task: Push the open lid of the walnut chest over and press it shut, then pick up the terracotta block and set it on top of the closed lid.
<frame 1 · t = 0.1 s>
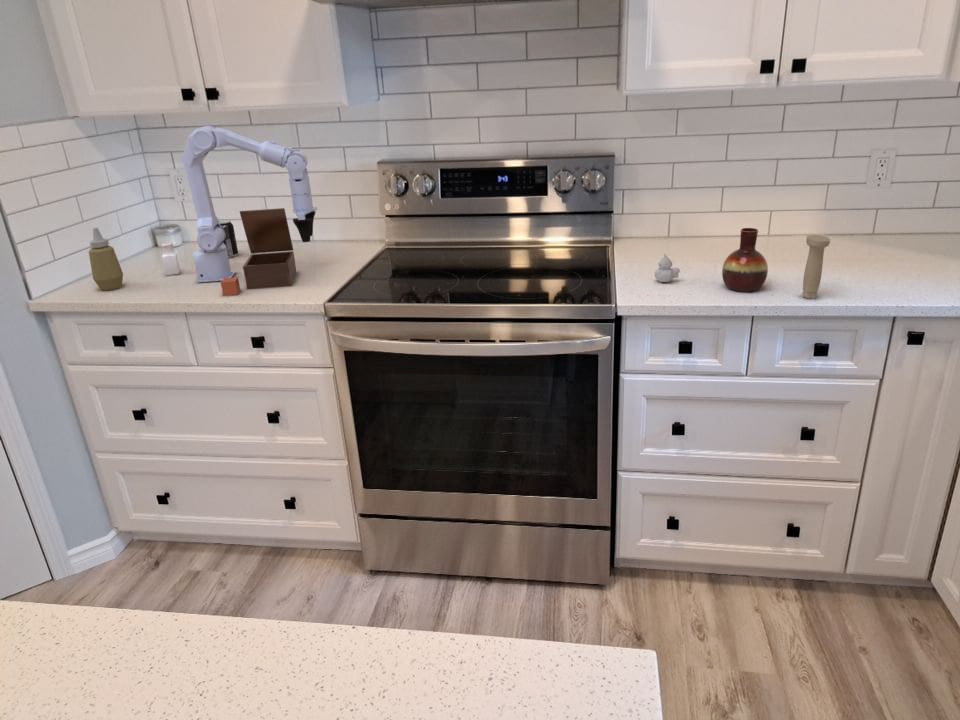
hand: (307, 238, 210), 10 cm above the countertop, tool pointing down, fingers open, 7 cm apart
chest lid: (267, 231, 204), point 14 cm above the countertop, hinge at 70.0°
block: (232, 293, 196), on the countertop
grey rounded figurine: (666, 282, 189), on the countertop
black upright box: (230, 256, 235), on the countertop
chest: (272, 280, 206), on the countertop
pepper shaker: (173, 274, 218), on the countertop
handle: (809, 297, 173), on the countertop
squeeze bottle: (111, 288, 206), on the countertop
vase: (742, 288, 182), on the countertop
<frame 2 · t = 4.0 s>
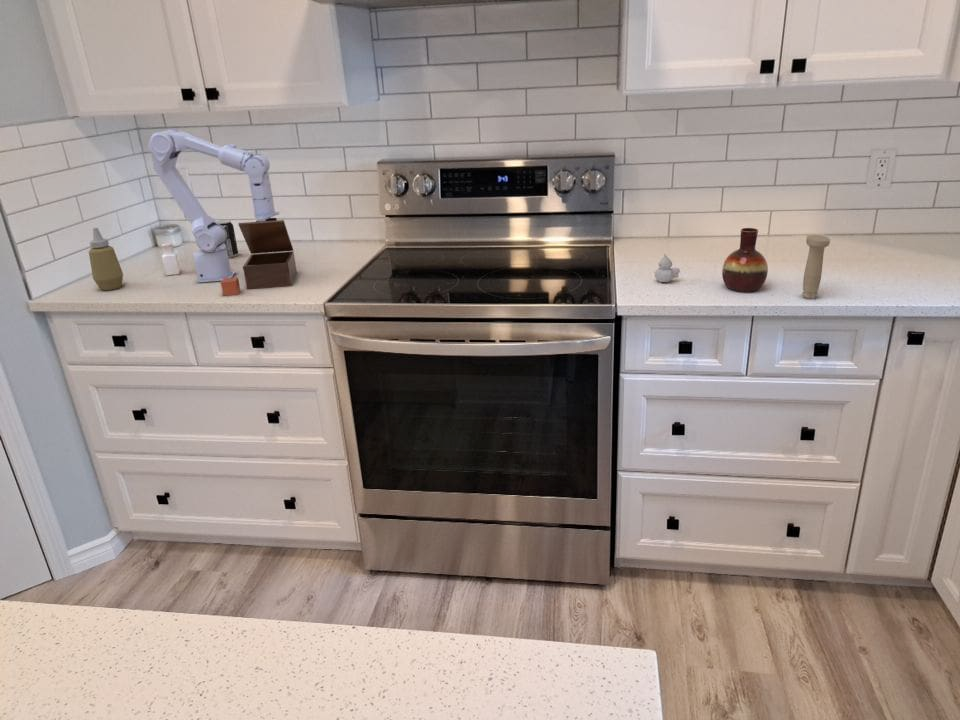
hand: (270, 243, 207), 10 cm above the countertop, tool pointing down, fingers closed
chest lid: (266, 237, 203), point 13 cm above the countertop, hinge at 49.4°, touching gripper
everything else where it was.
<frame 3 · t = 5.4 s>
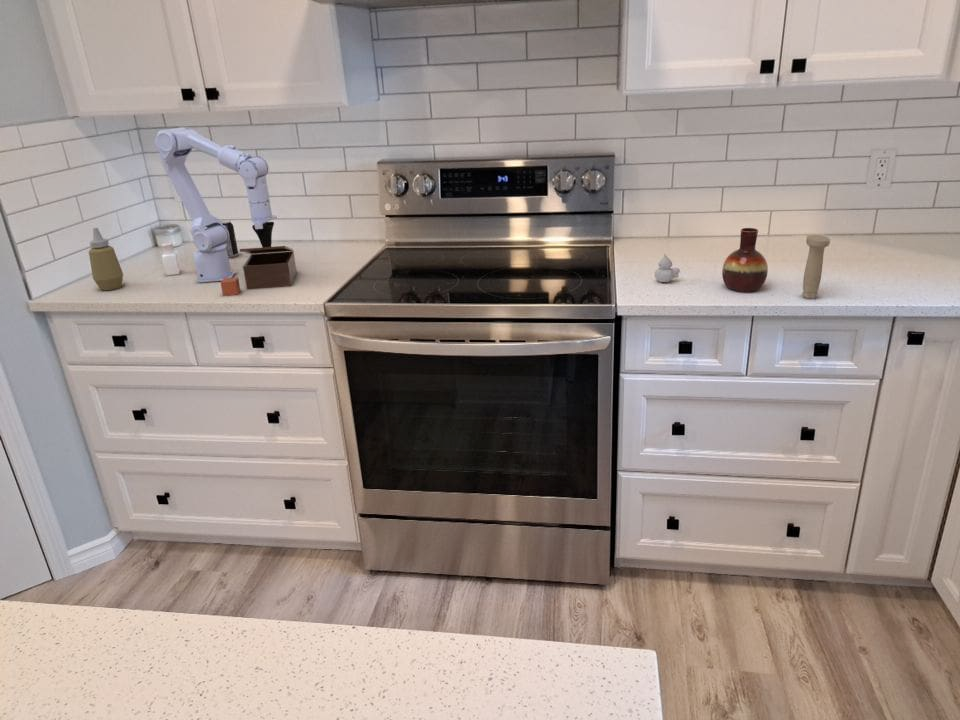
hand: (267, 248, 202), 10 cm above the countertop, tool pointing down, fingers closed
chest lid: (267, 250, 202), point 9 cm above the countertop, hinge at 17.8°, touching gripper
everything else where it was.
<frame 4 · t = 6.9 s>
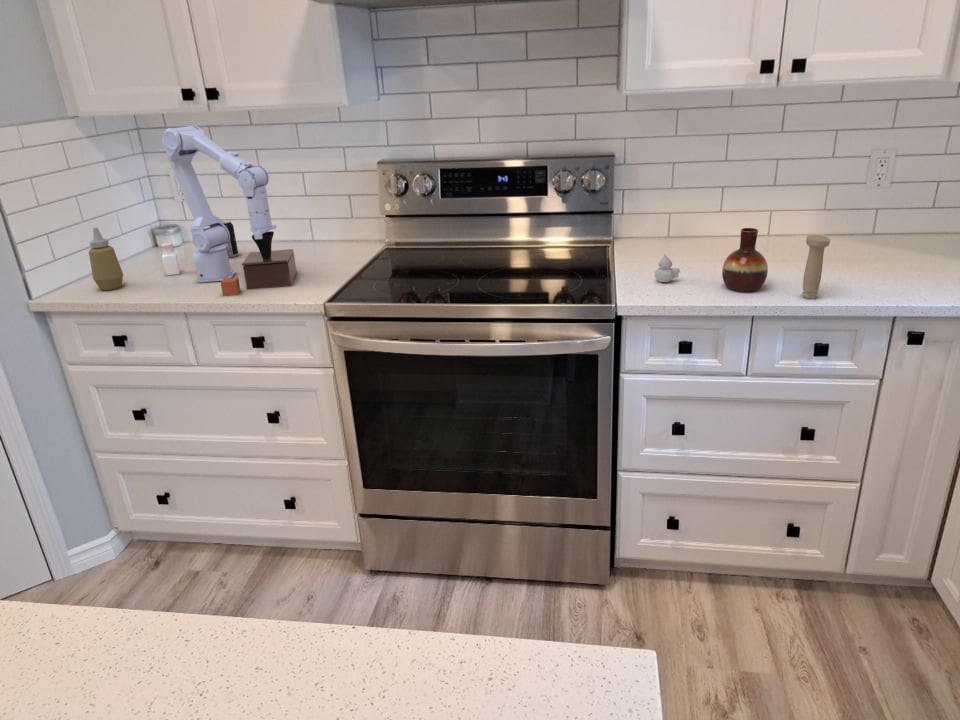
hand: (266, 258, 200), 8 cm above the countertop, tool pointing down, fingers closed, pressing on chest lid
chest lid: (268, 257, 203), point 7 cm above the countertop, hinge at 1.6°, touching gripper
everything else where it was.
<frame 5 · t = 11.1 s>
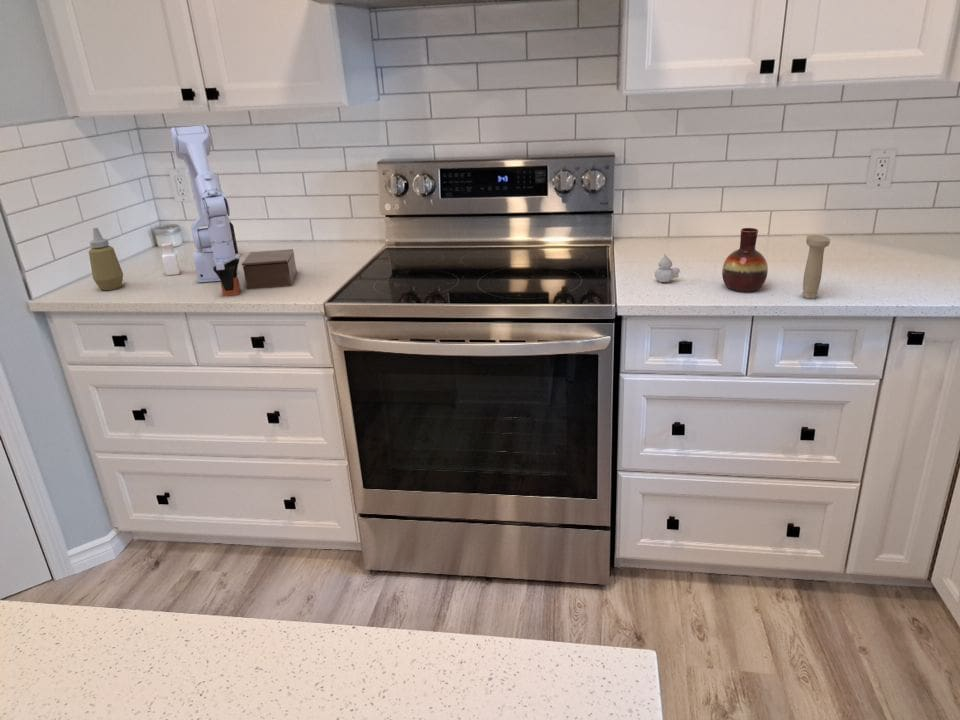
hand: (230, 287, 196), 2 cm above the countertop, tool pointing down, fingers closed on block, 4 cm apart
chest lid: (268, 257, 203), point 7 cm above the countertop, hinge at 1.6°
block: (232, 293, 196), on the countertop, touching gripper
everything else where it was.
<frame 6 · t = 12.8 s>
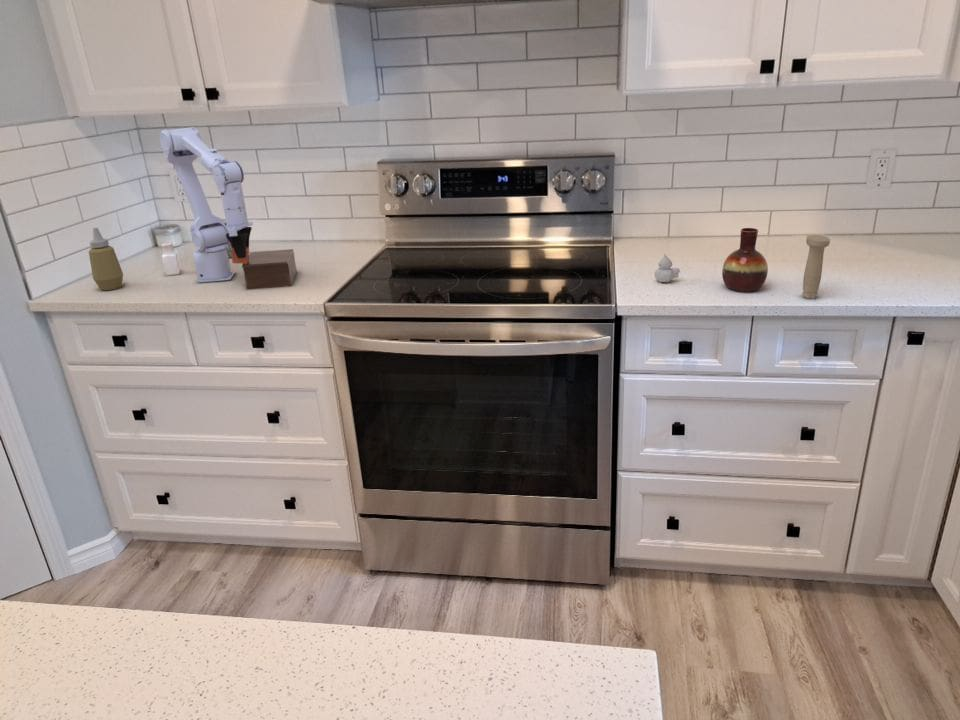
hand: (243, 255, 196), 10 cm above the countertop, tool pointing down, fingers closed on block, 4 cm apart
chest lid: (268, 257, 203), point 7 cm above the countertop, hinge at -0.2°
block: (240, 261, 197), point 8 cm above the countertop, tilted 9°, touching gripper
everything else where it was.
when the fingers open (9 cm above the countertop, at t = 14.1 s): block stays where it is, resting on chest lid.
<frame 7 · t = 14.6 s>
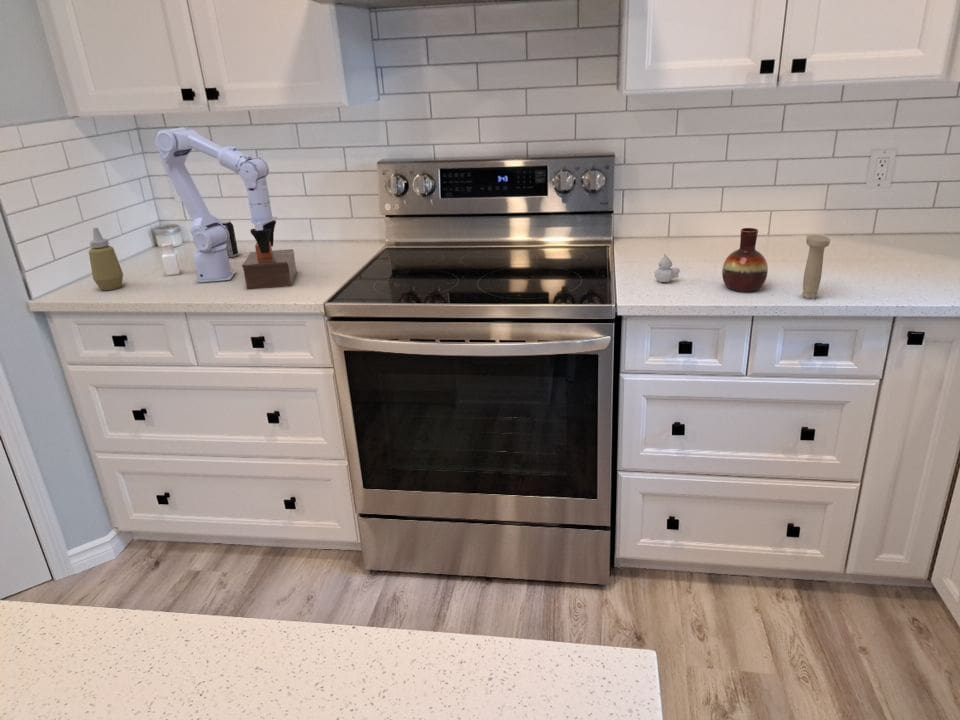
hand: (267, 249, 202), 9 cm above the countertop, tool pointing down, fingers open, 7 cm apart
chest lid: (268, 257, 203), point 7 cm above the countertop, hinge at -0.2°, touching block, chest
block: (265, 256, 203), point 7 cm above the countertop, touching chest lid
everything else where it was.
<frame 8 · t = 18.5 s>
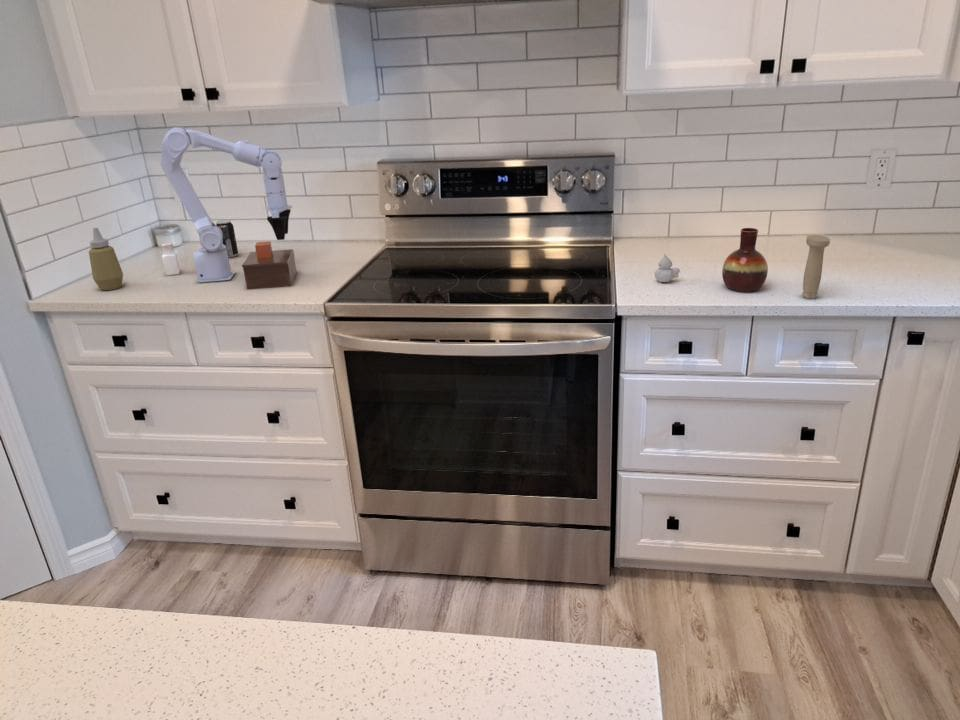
hand: (282, 236, 212), 10 cm above the countertop, tool pointing down, fingers open, 7 cm apart
nothing on the countertop moved.
at the end: chest lid at +0° (first picture: +70°); block inside the target area on the chest (1.0 cm from its centre), point 7.4 cm above the chest's base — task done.
